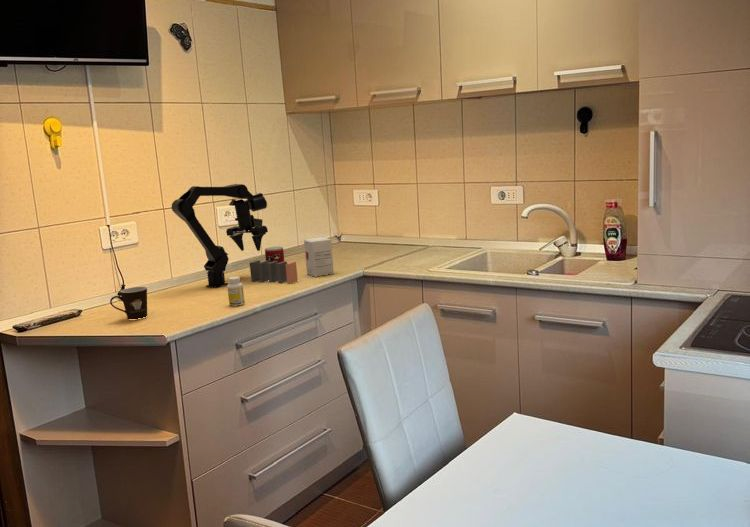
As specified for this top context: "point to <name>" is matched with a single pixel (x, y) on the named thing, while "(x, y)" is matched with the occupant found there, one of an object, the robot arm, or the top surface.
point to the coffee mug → (133, 302)
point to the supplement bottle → (235, 291)
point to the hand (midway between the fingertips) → (250, 250)
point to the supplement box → (318, 256)
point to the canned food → (274, 254)
